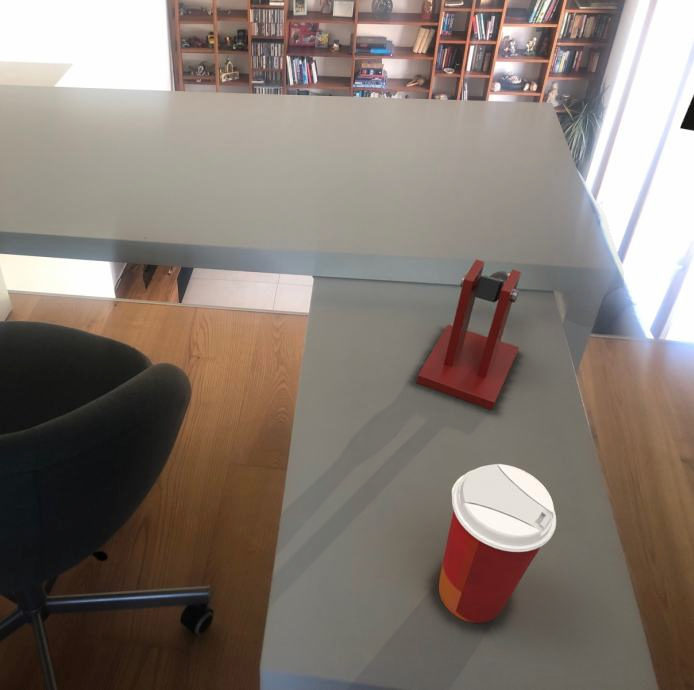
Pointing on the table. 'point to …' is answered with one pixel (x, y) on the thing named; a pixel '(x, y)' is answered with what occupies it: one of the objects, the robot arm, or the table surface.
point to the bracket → (473, 348)
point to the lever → (491, 286)
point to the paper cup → (492, 539)
